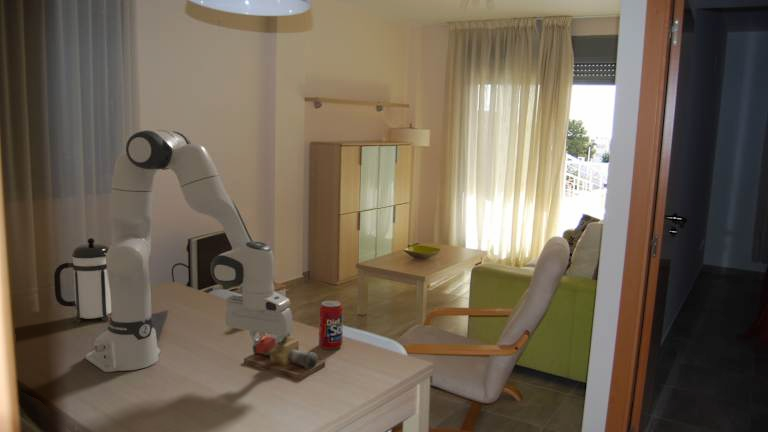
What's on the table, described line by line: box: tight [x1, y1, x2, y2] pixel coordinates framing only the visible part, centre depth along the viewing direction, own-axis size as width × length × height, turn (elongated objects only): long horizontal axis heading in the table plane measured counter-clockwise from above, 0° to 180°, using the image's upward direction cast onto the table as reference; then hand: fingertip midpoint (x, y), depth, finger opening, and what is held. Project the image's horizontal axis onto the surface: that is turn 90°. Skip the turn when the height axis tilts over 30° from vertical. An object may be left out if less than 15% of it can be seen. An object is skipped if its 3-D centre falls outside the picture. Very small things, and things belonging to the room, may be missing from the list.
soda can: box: [318, 300, 344, 350], centre depth 190 cm, size 8×8×15 cm
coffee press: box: [53, 237, 111, 324], centre depth 209 cm, size 17×16×30 cm
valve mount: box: [243, 337, 326, 381], centre depth 175 cm, size 22×12×9 cm, turn 60°
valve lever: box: [256, 332, 291, 354], centre depth 169 cm, size 16×3×3 cm, turn 161°
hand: (258, 345), depth 165 cm, fingers closed
